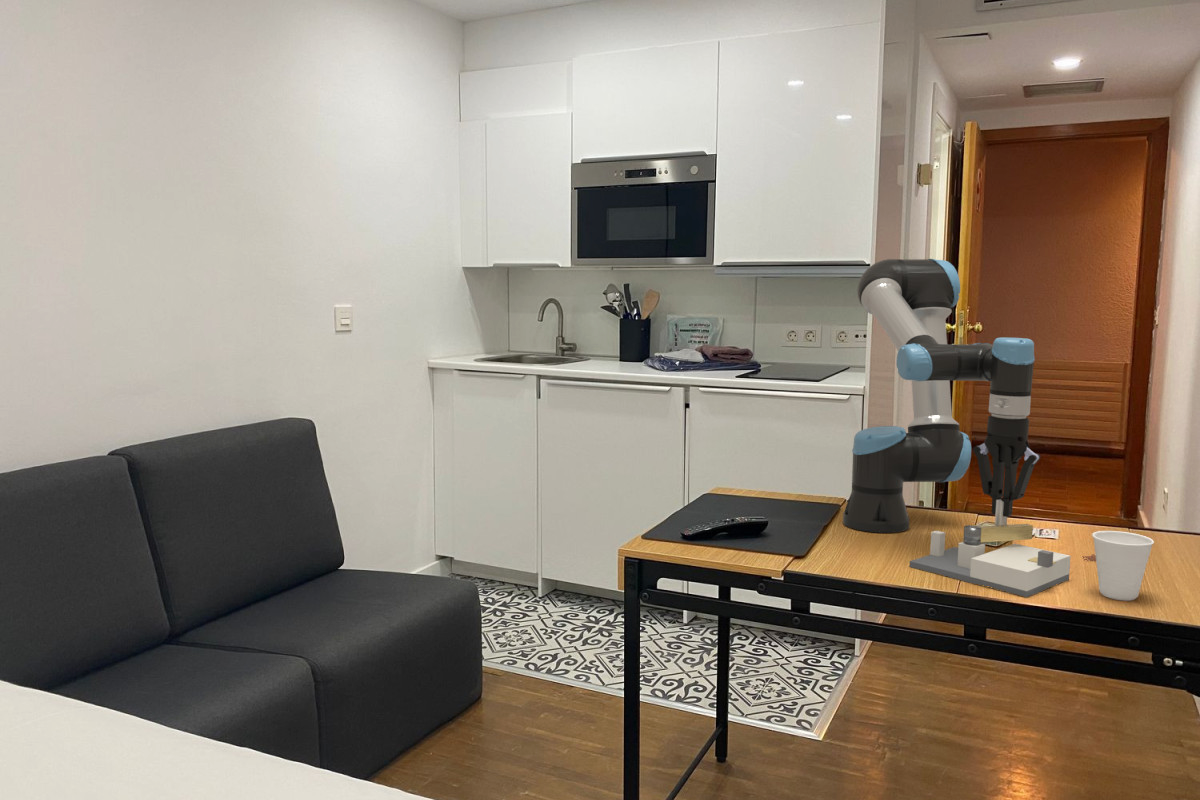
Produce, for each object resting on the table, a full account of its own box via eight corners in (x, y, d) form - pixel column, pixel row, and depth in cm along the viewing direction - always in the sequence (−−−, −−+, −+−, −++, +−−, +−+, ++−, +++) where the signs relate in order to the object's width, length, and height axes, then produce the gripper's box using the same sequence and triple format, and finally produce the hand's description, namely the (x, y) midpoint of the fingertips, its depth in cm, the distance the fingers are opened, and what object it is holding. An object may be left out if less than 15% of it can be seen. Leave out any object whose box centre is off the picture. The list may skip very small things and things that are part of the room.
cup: (1091, 600, 166) (1096, 541, 165) (1084, 584, 175) (1088, 528, 174) (1154, 607, 163) (1159, 547, 161) (1143, 590, 172) (1148, 533, 171)
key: (1073, 558, 195) (1099, 579, 181) (1073, 554, 195) (1098, 574, 181) (1103, 557, 194) (1131, 578, 180) (1103, 553, 194) (1131, 574, 180)
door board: (909, 566, 186) (911, 531, 185) (954, 552, 197) (955, 518, 196) (1031, 599, 167) (1034, 559, 166) (1074, 580, 178) (1076, 543, 177)
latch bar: (969, 544, 180) (970, 529, 180) (959, 540, 183) (960, 525, 183) (1034, 540, 184) (1035, 526, 183) (1024, 536, 187) (1024, 522, 186)
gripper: (968, 413, 185) (961, 527, 188) (1032, 421, 175) (1023, 541, 178) (986, 410, 190) (978, 521, 193) (1049, 417, 180) (1040, 534, 183)
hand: (1000, 531), depth 186 cm, fingers closed
